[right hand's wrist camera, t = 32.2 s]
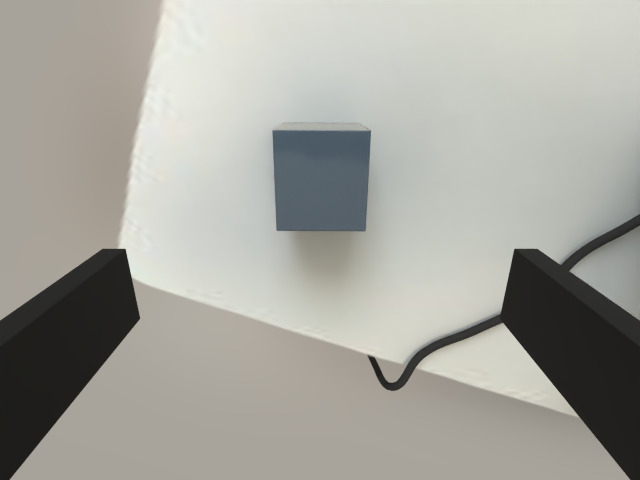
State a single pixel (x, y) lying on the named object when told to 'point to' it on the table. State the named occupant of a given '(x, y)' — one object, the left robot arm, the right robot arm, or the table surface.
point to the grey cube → (321, 176)
